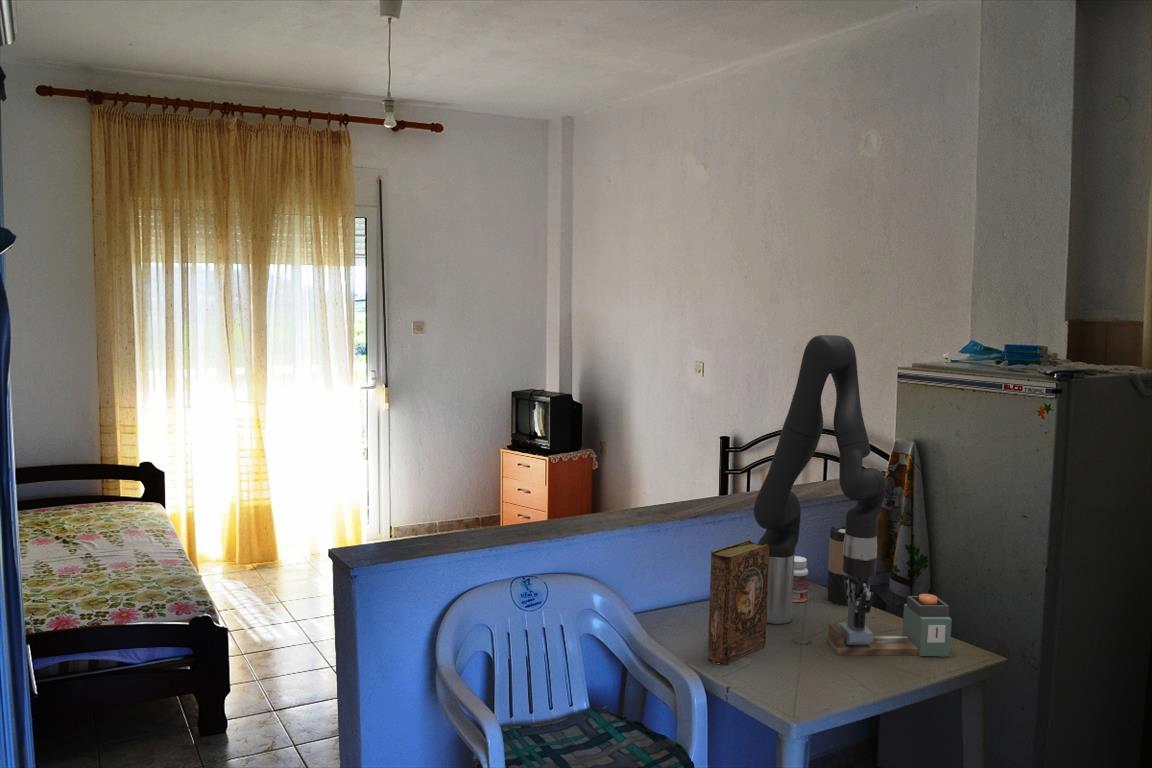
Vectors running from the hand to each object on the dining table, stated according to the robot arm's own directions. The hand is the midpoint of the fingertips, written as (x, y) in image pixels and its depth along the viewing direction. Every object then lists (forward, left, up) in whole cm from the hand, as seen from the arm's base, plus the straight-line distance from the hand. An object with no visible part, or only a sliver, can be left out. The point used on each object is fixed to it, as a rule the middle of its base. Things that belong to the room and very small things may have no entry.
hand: (856, 624), depth 214 cm
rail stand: (+4, 0, -6) cm, 7 cm away
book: (-29, -2, -6) cm, 30 cm away
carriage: (0, 0, -4) cm, 4 cm away
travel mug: (+8, +32, -6) cm, 34 cm away
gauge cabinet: (+17, 0, -6) cm, 18 cm away
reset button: (+17, 0, +5) cm, 18 cm away
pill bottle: (-4, +34, -6) cm, 35 cm away
